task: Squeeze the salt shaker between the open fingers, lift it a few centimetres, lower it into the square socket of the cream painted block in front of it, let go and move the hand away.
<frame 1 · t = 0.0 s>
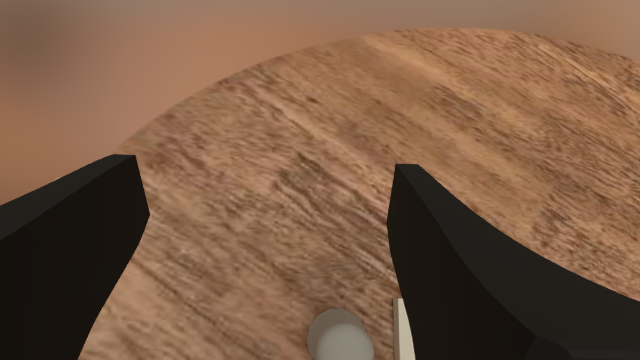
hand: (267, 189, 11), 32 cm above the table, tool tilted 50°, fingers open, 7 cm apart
salt shaker: (335, 337, 40), on the table
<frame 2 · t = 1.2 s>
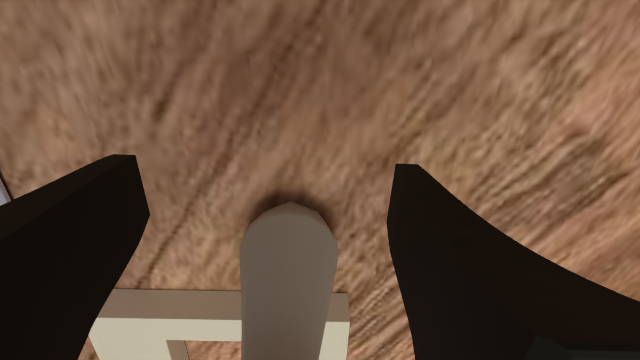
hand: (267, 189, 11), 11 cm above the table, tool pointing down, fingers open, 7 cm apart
socket block: (231, 342, 32), on the table
salt shaker: (291, 225, 26), on the table
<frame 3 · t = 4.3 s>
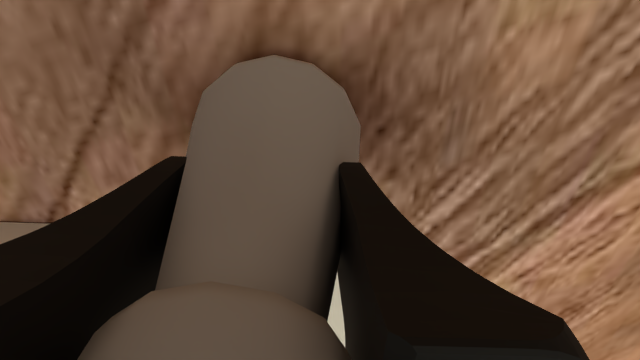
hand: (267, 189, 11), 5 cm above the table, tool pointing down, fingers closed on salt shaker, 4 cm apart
socket block: (197, 310, 22), on the table
salt shaker: (283, 112, 16), on the table, touching gripper
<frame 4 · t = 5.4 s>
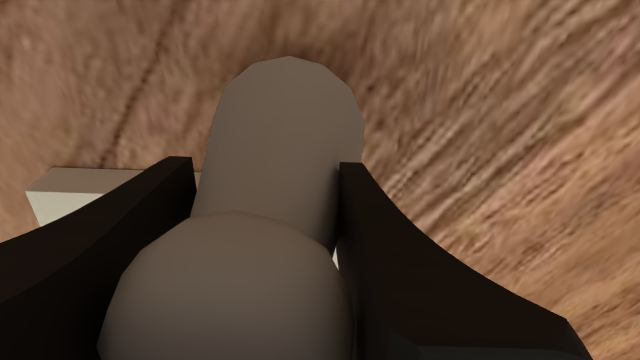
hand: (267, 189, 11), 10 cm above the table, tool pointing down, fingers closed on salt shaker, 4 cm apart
socket block: (218, 249, 26), on the table
salt shaker: (295, 111, 17), point 3 cm above the table, touching gripper
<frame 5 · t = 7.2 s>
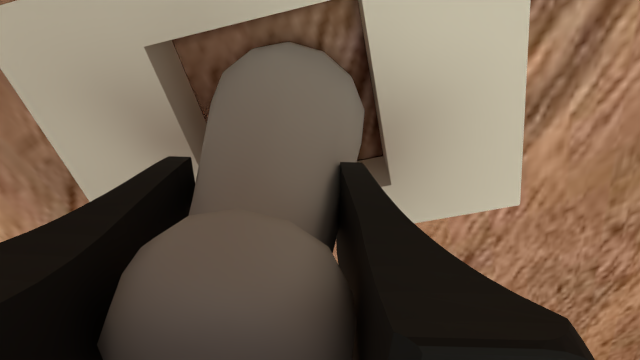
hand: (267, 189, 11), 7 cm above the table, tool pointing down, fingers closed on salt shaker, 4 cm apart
socket block: (285, 98, 17), on the table
salt shaker: (293, 97, 17), resting in socket block, touching gripper
when the fingers open (6 cm above the table, at t = 8.2 s): salt shaker stays where it is, resting in socket block.
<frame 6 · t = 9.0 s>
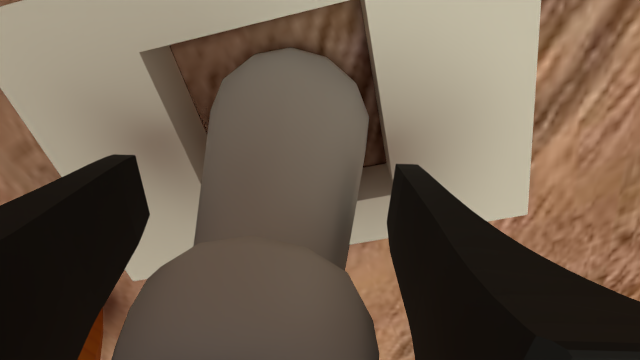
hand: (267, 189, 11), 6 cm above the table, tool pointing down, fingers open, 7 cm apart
socket block: (285, 105, 17), on the table
salt shaker: (294, 103, 17), resting in socket block
carrot: (98, 294, 23), on the table
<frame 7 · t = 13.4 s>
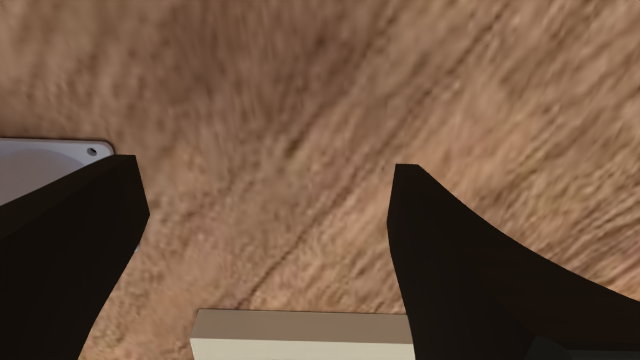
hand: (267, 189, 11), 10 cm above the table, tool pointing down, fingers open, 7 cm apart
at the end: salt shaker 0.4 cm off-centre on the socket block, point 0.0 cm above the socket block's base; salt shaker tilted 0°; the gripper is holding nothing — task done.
